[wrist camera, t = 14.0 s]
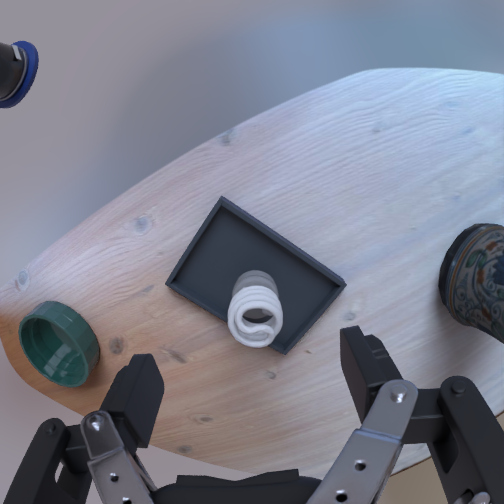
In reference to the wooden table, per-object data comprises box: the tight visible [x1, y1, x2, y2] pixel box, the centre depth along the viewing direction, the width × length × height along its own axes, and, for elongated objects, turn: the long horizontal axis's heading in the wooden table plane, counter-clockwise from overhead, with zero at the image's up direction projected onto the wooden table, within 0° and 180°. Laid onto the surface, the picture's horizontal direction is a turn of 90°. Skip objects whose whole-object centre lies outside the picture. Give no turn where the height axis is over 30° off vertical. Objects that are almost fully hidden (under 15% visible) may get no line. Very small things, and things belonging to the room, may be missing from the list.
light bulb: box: [228, 270, 283, 348], centre depth 35 cm, size 6×6×12 cm
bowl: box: [18, 301, 99, 387], centre depth 42 cm, size 14×14×5 cm
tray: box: [165, 196, 347, 355], centre depth 40 cm, size 19×13×2 cm
